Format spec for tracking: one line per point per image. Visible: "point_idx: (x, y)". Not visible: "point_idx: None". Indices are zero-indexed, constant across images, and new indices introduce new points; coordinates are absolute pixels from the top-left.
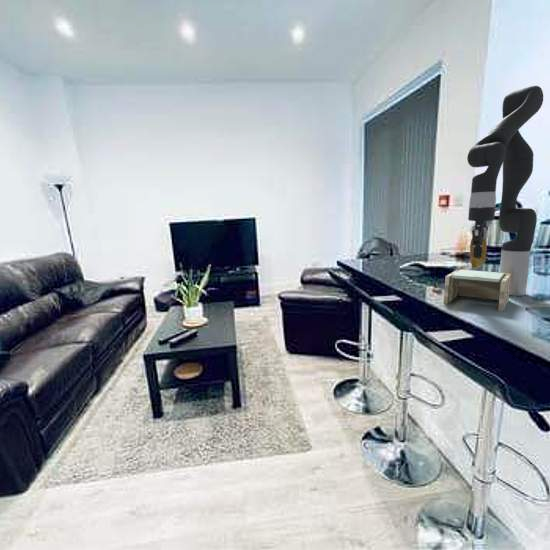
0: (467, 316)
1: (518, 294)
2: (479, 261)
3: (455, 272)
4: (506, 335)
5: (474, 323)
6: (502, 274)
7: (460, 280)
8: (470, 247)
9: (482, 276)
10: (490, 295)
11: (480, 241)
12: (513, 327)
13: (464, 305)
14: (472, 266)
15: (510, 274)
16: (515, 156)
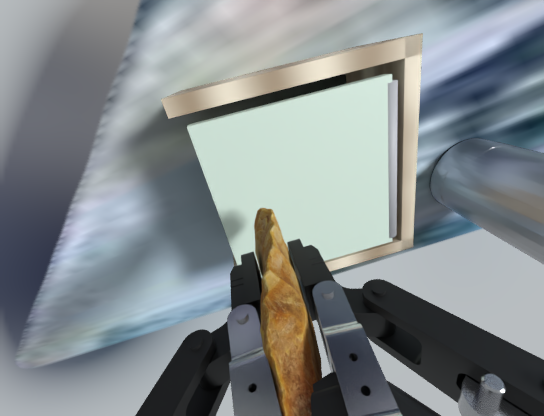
0: (108, 211)
1: (437, 199)
2: (257, 259)
3: (322, 76)
4: (56, 313)
5: (67, 248)
6: (353, 251)
7: (375, 69)
8: (266, 266)
9: None
10: None
11: (186, 411)
12: (125, 299)
13: None
14: (258, 211)
15: (398, 250)
16: None
